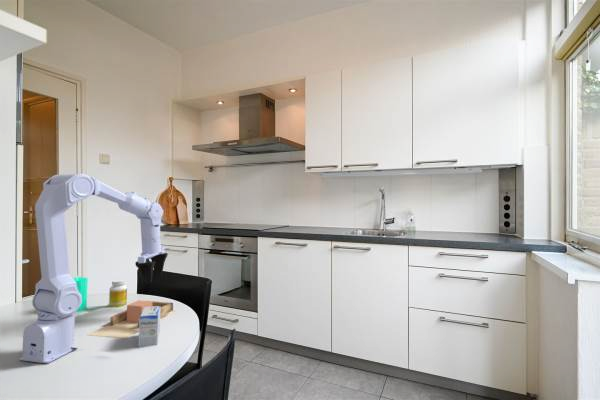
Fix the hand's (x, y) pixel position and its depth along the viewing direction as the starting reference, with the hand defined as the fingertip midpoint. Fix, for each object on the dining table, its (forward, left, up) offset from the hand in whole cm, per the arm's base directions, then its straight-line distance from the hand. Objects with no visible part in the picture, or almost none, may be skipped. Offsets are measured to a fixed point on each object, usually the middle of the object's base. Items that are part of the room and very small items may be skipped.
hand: (153, 278), depth 103 cm
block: (-7, -1, -11) cm, 13 cm away
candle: (-1, +28, -12) cm, 31 cm away
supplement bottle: (+4, +16, -12) cm, 21 cm away
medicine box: (-19, -13, -12) cm, 26 cm away
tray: (-9, -1, -12) cm, 15 cm away
